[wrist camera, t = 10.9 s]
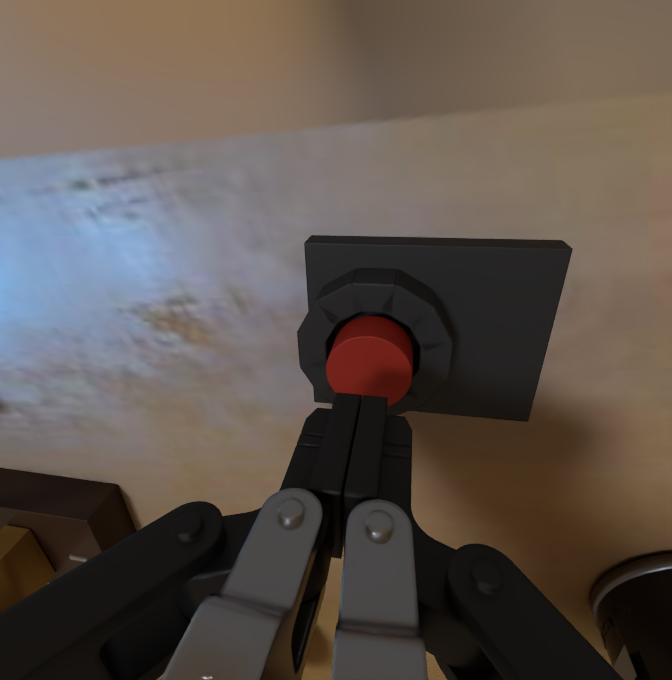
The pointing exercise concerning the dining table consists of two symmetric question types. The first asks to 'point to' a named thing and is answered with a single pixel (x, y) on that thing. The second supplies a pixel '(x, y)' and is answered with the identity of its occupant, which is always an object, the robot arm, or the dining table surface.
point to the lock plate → (64, 515)
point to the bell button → (371, 359)
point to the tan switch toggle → (21, 565)
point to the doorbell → (441, 315)
